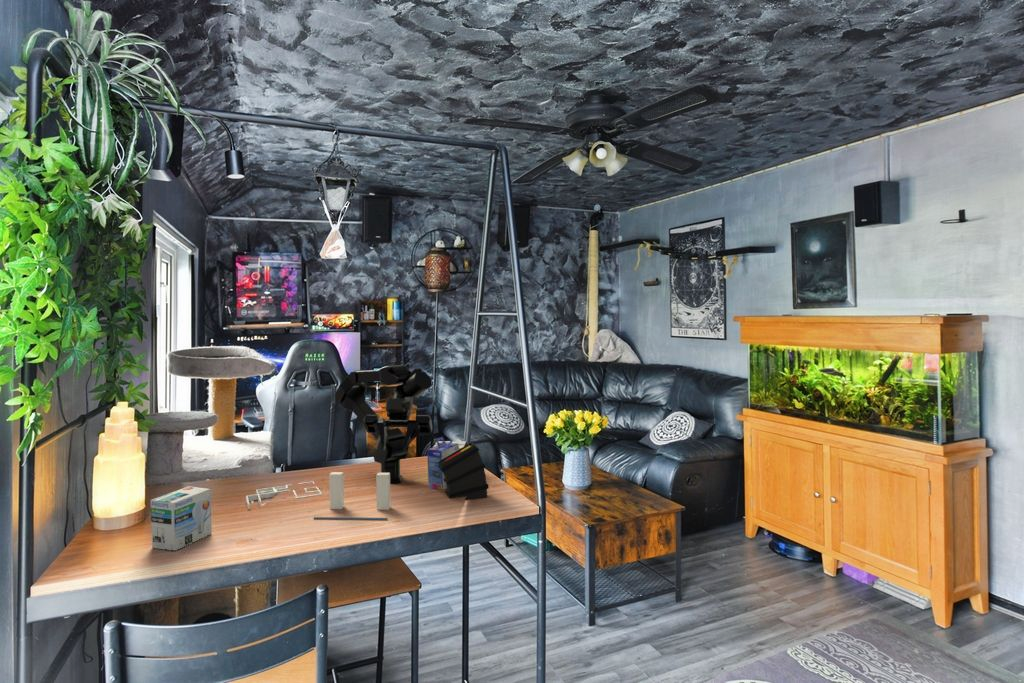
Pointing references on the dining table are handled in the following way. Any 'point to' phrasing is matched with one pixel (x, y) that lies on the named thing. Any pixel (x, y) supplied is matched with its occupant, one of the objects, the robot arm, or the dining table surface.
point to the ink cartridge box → (434, 457)
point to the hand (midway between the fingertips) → (393, 450)
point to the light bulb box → (181, 518)
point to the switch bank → (350, 518)
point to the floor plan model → (276, 493)
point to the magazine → (464, 473)
